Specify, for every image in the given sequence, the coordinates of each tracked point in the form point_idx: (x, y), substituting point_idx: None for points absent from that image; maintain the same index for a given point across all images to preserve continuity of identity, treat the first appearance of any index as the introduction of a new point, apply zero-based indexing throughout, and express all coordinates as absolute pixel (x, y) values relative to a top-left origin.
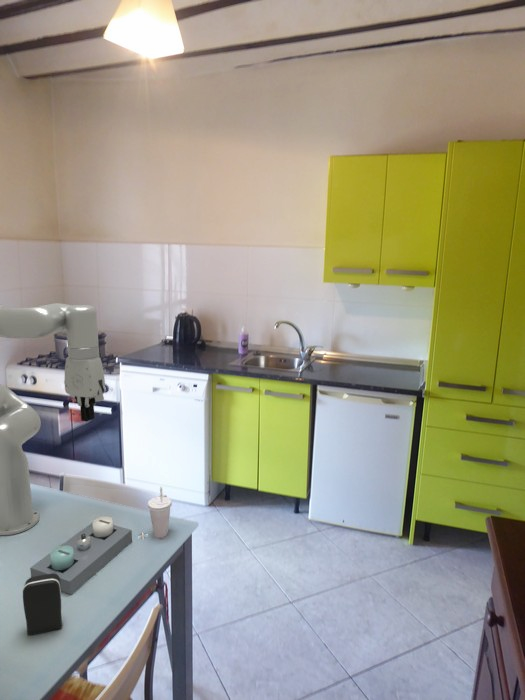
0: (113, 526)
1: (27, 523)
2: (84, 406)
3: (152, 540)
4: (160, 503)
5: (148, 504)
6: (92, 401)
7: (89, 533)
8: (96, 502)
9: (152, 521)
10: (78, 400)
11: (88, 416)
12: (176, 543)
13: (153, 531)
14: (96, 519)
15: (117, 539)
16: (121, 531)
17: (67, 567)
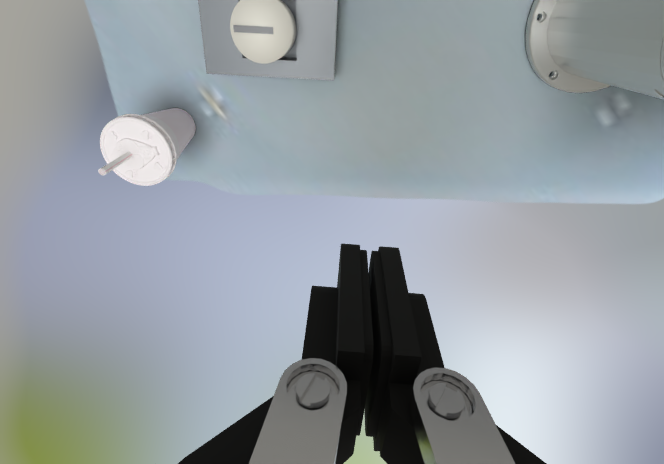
0: (264, 69)
1: (547, 16)
2: (385, 381)
3: (177, 93)
4: (123, 144)
5: (153, 129)
6: (202, 462)
7: (302, 7)
8: (420, 191)
9: (165, 115)
10: (485, 453)
11: (330, 291)
12: (118, 103)
13: (183, 114)
14: (287, 33)
15: (206, 13)
16: (226, 55)
17: None
